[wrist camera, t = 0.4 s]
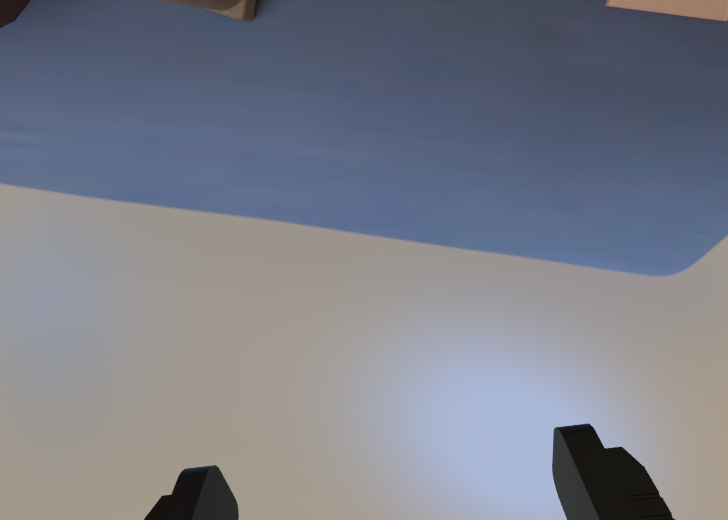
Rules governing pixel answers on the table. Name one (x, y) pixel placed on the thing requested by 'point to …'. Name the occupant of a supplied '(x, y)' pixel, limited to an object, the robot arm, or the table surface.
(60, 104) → the table surface
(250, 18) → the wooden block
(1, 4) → the potted plant
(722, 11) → the mat
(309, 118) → the table surface
